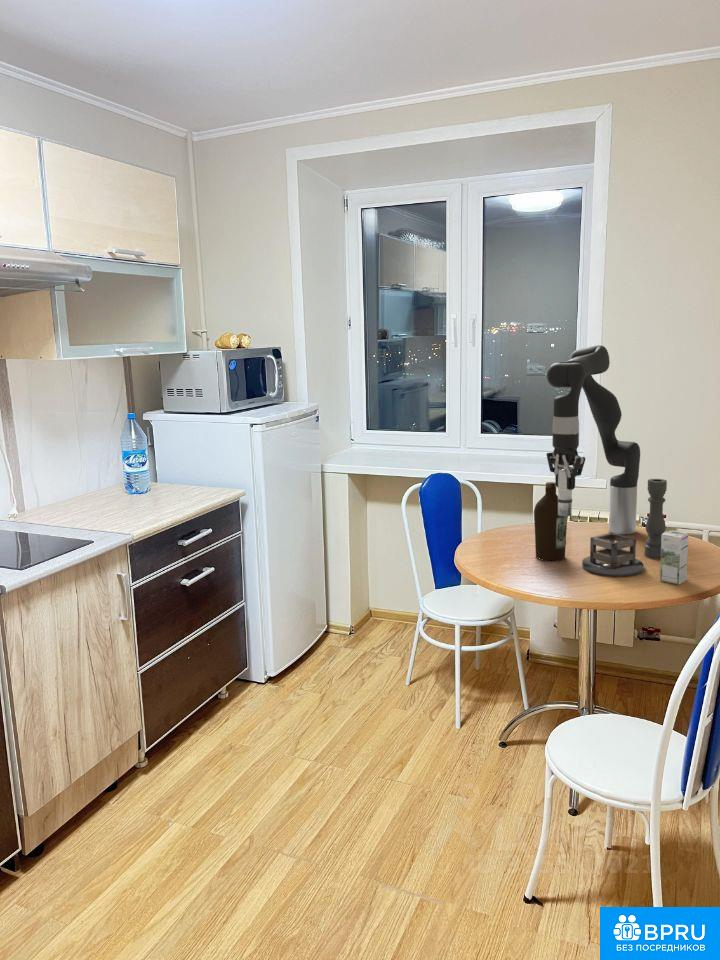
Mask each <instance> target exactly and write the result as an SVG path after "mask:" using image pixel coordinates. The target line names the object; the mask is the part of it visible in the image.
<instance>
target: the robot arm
mask: <svg viewBox="0 0 720 960" xmlns="http://www.w3.org/2000/svg"><path fill="white" fill-rule="evenodd" d="M609 354H610V353H609V351H608V350H607V348H606V347H605V346H604V345H600V344H598V345H593V346H592V345H591V346H588V347H583V348H578V349H576V350H573V352H572V353H571V358H570V359H569V360H566V361H559V362H555V363H552V364H551V365H550V366H549V368H548V370H547V374H546V379H547V382H548V384H549V385H550V386H552V387H553V388H570V391H569V392H568V393H567V394H563V395H557V396H556V397H554V400H553V417H552V418H553V419H552V447H553V448H554V450H553V451H551V452H547V453H545V454H546V459H547V464H548V468H549V472H550V473H553V475H555V476H554V477H555V478H554V479H555V480H554V481H555V484H556V488H558V469H559V468H565V470H567V475H568V478H567V489H568V490H572V491H573V490H575V487H576V477H578V476H579V477H580V476H581V475H582V473H583V470H584V466H585V463H586V457H585V456H580V455H579V453H578V448H579V446H580V420H579V405H580V404H579V403H580V396H581V393H582V390H583V392H584V394H585V396H586V400H587V403H588V406H589V409H590V412H591V414H592V417H593V420H594V422H595V424H596V427H597V430H598V433H599V436H600V437H599V438H600V439H601V443H602V444H601V445H602V449H603V453H604V456H605V459H606V461H607V463H608V464H609V465H610V466H613V467H619V468H620V467H621V468H624V471H623V472H622V473H621V474H617V475H614V476H611V478H610V480H609V481H610V482H609V514H608V515H609V520H608V521H609V523H608V531H609V533H611V532H612V533H616V534H620V535H632V534H636V531H637V505H638V504H637V503H638V501H637V500H638V480H639V477H640V462H641V448H640V445H639V444H638V443H637V442H635V441H625V440H624V441H623V440H618V439H617V437H616V430H617V428H618V426H619V424H620V421H622V420H621V419H622V416H623V415H622V409H621V406H620V403H619V401H618V398H617V397H616V395H615V394H614V393H613V392H612V391H610V390H608V389H607V388H606V387H604V386H603V385H601V384H600V383H598V382H597V381H596V380H595V379H594V377H593V376H594V375H600V374H603V373H605V372H607V371H608V370H609V368H610V364H611V363H610V362H611V361H610V355H609ZM571 470H572V473H571Z"/></svg>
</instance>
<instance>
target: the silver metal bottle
mask: <svg viewBox="0 0 720 960" xmlns="http://www.w3.org/2000/svg"><path fill="white" fill-rule="evenodd" d="M571 473H572V470H571ZM567 478H568V475H567V470H565V467H564V468H559V469H558V487H557V496H558V499H557V502H558V515H559V516H567V517H571V516H573V515H572V513H573V509H572V507H573V495H572V494H573V489H572V490H568V489H567Z"/></svg>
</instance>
